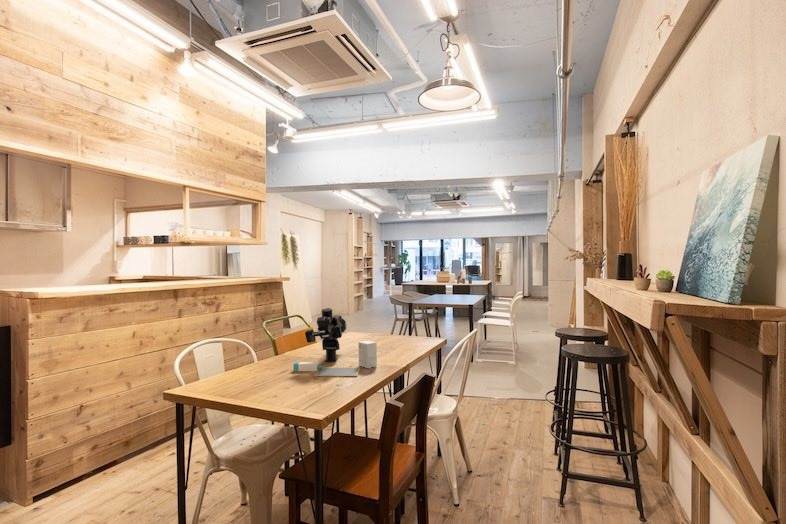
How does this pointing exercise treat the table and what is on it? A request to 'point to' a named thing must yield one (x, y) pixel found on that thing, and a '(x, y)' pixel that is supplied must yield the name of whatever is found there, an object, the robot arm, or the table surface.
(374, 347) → the small box
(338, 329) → the robot arm
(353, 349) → the table surface
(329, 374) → the slate board
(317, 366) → the marker
